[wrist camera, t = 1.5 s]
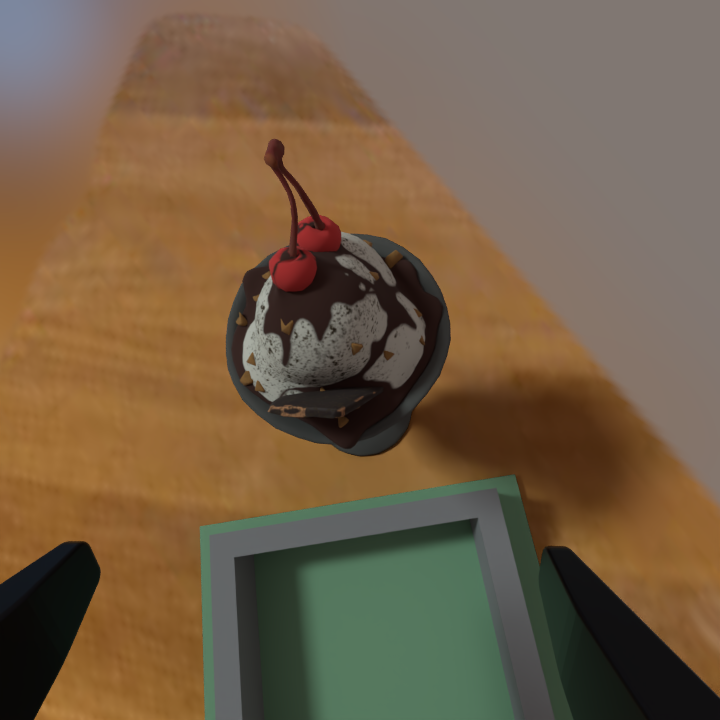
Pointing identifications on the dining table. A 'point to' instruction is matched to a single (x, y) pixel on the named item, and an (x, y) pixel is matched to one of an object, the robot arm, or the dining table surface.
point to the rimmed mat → (380, 611)
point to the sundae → (336, 333)
